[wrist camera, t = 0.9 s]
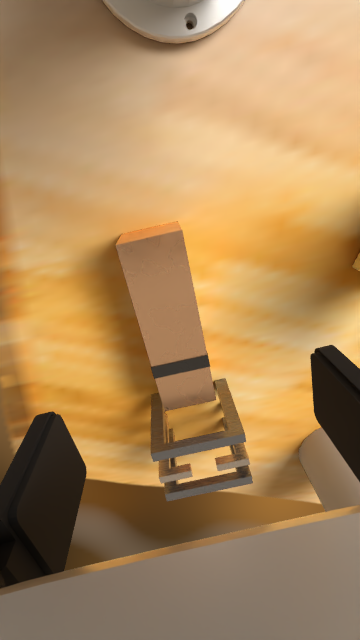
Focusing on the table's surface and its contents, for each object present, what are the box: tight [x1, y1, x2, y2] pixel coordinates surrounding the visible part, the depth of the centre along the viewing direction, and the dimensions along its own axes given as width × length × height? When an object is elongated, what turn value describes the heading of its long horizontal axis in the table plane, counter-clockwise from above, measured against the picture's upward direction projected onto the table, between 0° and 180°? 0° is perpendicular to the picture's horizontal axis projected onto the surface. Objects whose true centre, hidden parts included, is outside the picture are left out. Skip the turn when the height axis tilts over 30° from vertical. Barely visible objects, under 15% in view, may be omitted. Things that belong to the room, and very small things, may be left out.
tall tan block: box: [115, 221, 216, 411], centre depth 28 cm, size 16×5×5 cm, turn 12°
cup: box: [299, 428, 360, 512], centre depth 36 cm, size 8×8×10 cm
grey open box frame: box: [151, 379, 253, 501], centre depth 32 cm, size 6×8×8 cm
